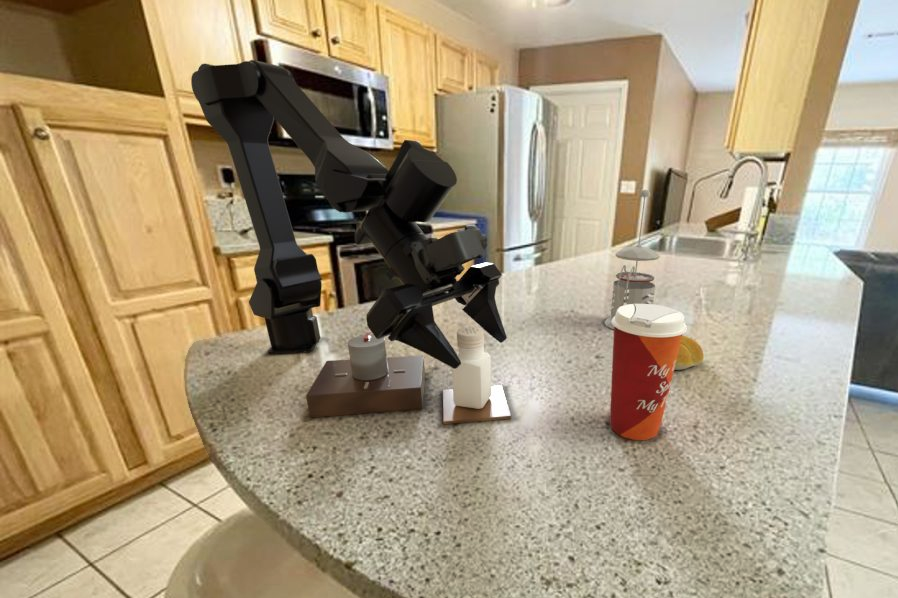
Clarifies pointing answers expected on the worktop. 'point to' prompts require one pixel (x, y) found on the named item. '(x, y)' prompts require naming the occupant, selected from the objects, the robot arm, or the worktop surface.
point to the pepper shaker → (471, 370)
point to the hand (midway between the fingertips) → (482, 352)
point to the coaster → (490, 411)
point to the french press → (633, 276)
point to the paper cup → (643, 367)
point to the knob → (368, 357)
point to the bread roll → (688, 354)
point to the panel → (367, 389)
